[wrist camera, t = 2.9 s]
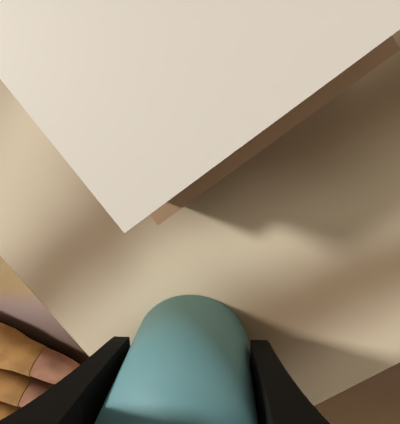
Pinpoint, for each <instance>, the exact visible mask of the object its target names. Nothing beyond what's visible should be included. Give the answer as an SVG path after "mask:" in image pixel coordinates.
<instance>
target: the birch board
mask: <svg viewBox="0 0 400 424" xmlns="http://www.w3.org/2000/svg"><path fill="white" fill-rule="evenodd" d="M392 36H393V38H394V40H395V41H396V43H397V45H398V46H399V48H400V30H398V31H397V32H396V33H394V34H393V35H392ZM0 256H1V257H2V258H3V259H4V261H5V262H6V263H7V264H8V265H9V266H10V267H11V269H12V270H13V271H14V272H15V273H16V274H17V275H18V276H19V278H20V279H21V280H22V281H23V282H24V283H25V284H26V286H27V287H28V288H29V289H30V290H31V291H32V292H33V293H34V295H35V296H36V297H37V298H38V299H39V300H40V301H41V303H42V304H43V305H44V306H45V307H46V308H47V309H48V310H49V312H50V313H51V314H52V315H53V316H54V317H55V318H56V320H57V321H58V322H59V323H60V324H61V325H62V326H63V327H64V329H65V330H66V331H67V332H68V333H69V334H70V335H71V336H72V338H73V339H74V340H75V341H76V342H77V343H78V344H79V346H80V347H81V348H82V349H83V350H84V351H85V352H86V353H87V355H88V356H89V357H90V356H91V355H92V354H94V353H95V352H96V351H97V350H98V349H99V348H101V347H102V346H103V345H104V344H105V343H106V342H108V341H109V340H110V339H111V338H113V337H114V336H118V337H129V338H130V346H131V344H132V342H133V340H134V338H135V335H136V333H137V331H138V329H139V327H140V325H141V323H142V321H143V319H144V317H145V316H146V315H147V313H148V312H149V311H150V310H151V309H152V308H153V307H154V306H156V305H157V304H158V303H160V302H162V301H164V300H166V299H168V298H171V297H175V296H180V295H200V296H205V297H209V298H211V299H214V300H216V301H218V302H220V303H222V304H224V305H225V306H227V307H228V308H229V309H230V310H232V311H233V312H234V313H235V314H236V315H237V317H238V318H239V319H240V321H241V322H242V324H243V325H244V328H245V330H246V332H247V335H248V340H249V348H250V340H267V341H268V342H269V343H270V344H271V346H272V348H273V350H274V351H275V353H276V355H277V357H278V358H279V360H280V361H281V363H282V364H283V366H284V367H285V369H286V370H287V372H288V373H289V375H290V376H291V377H292V379H293V380H294V382H295V383H296V384H297V386H298V387H299V388H300V390H301V391H302V392H303V394H304V395H305V396H306V397H307V398H308V400H309V401H310V402H311V403H312V405H313V406H315V405H317V404H319V403H321V402H323V401H325V400H327V399H329V398H331V397H333V396H335V395H337V394H339V393H341V392H343V391H345V390H347V389H349V388H351V387H353V386H354V385H356V384H358V383H360V382H362V381H364V380H366V379H368V378H370V377H372V376H374V375H376V374H378V373H380V372H382V371H384V370H386V369H388V368H390V367H392V366H394V365H396V364H398V363H400V50H399V51H398V52H396V53H395V54H394V55H392V56H391V57H390V58H388V59H387V60H385V61H384V62H383V63H381V64H380V65H378V66H377V67H376V68H374V69H373V70H372V71H370V72H369V73H367V74H366V75H365V76H363V77H362V78H361V79H359V80H358V81H356V82H355V83H354V84H352V85H351V86H350V87H348V88H347V89H345V90H344V91H343V92H341V93H340V94H339V95H337V96H336V97H334V98H333V99H332V100H330V101H329V102H328V103H326V104H325V105H323V106H322V107H321V108H319V109H318V110H316V111H315V112H314V113H312V114H311V115H310V116H308V117H307V118H305V119H304V120H303V121H301V122H300V123H299V124H297V125H296V126H294V127H293V128H292V129H290V130H289V131H288V132H286V133H285V134H283V135H282V136H281V137H279V138H278V139H277V140H275V141H274V142H272V143H271V144H270V145H268V146H267V147H266V148H264V149H263V150H261V151H260V152H259V153H257V154H256V155H254V156H253V157H252V158H250V159H249V160H248V161H246V162H245V163H243V164H242V165H241V166H239V167H238V168H237V169H235V170H234V171H232V172H231V173H230V174H228V175H227V176H226V177H224V178H223V179H221V180H220V181H219V182H217V183H216V184H215V185H213V186H212V187H210V188H209V189H208V190H206V191H205V192H203V193H202V194H201V195H199V196H198V197H197V198H195V199H194V200H192V201H191V202H190V203H188V204H187V205H186V206H184V207H183V208H181V209H180V210H179V211H177V212H176V213H175V214H173V215H172V216H170V217H169V218H168V219H166V220H165V221H164V222H162V223H161V224H159V225H157V224H156V222H155V221H154V220H153V219H152V217H151V216H150V215H148V216H147V217H146V218H144V219H143V220H142V221H140V222H139V223H138V224H136V225H135V226H134V227H132V228H131V229H129V230H128V231H127V232H125V233H124V232H123V231H122V230H121V229H120V227H119V226H118V225H117V224H116V222H115V221H114V220H113V219H112V217H111V216H110V215H109V214H108V212H107V211H106V210H105V209H104V207H103V206H102V205H101V204H100V202H99V201H98V200H97V199H96V197H95V196H94V195H93V194H92V192H91V191H90V190H89V189H88V188H87V186H86V185H85V184H84V183H83V181H82V180H81V179H80V178H79V176H78V175H77V174H76V173H75V171H74V170H73V169H72V168H71V166H70V165H69V164H68V163H67V161H66V160H65V159H64V158H63V156H62V155H61V154H60V153H59V151H58V150H57V149H56V148H55V146H54V145H53V144H52V143H51V141H50V140H49V139H48V138H47V137H46V135H45V134H44V133H43V132H42V130H41V129H40V128H39V127H38V125H37V124H36V123H35V122H34V120H33V119H32V118H31V117H30V115H29V114H28V113H27V112H26V110H25V109H24V108H23V107H22V105H21V104H20V103H19V102H18V100H17V99H16V98H15V97H14V95H13V94H12V93H11V92H10V91H9V89H8V88H7V87H6V86H5V84H4V83H3V82H2V81H1V79H0Z"/></svg>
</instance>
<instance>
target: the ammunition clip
mask: <svg viewBox="0 0 400 424" xmlns="http://www.w3.org/2000/svg"><path fill="white" fill-rule="evenodd" d="M79 365H80V364H79V363H77V362H76V361H74V360H72V359H71V358H69V357H67V356H65V355H63V354H61V353H59V352H57V351H54V350H52V349H50V348H47V347H46V346H45V345H43V344H40V343H38V342H36V341H34V340H32V339H30V338H29V337H27V336H26V335H24V334H23V333H21V332H20V331H18V330H17V329H15V328H13V327H11V326H8V325H6V324H4V323H1V322H0V420H1V419H3V418H5V417H7V416H8V415H10V414H12V413H14V412H15V411H17V410H18V409H20V408H22V407H23V406H25V405H26V404H28V403H29V402H31V401H32V400H34V399H35V398H37V397H38V396H40V395H41V394H43V393H44V392H45V391H47V390H48V389H50V388H51V387H52V386H54V385H52V384H56V383H58V382H59V381H60V380H61V379H63V378H64V377H65V376H67V375H68V374H69V373H71V372H72V371H73V370H74V369H76V368H77V367H78V366H79ZM50 383H51V384H50Z"/></svg>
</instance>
